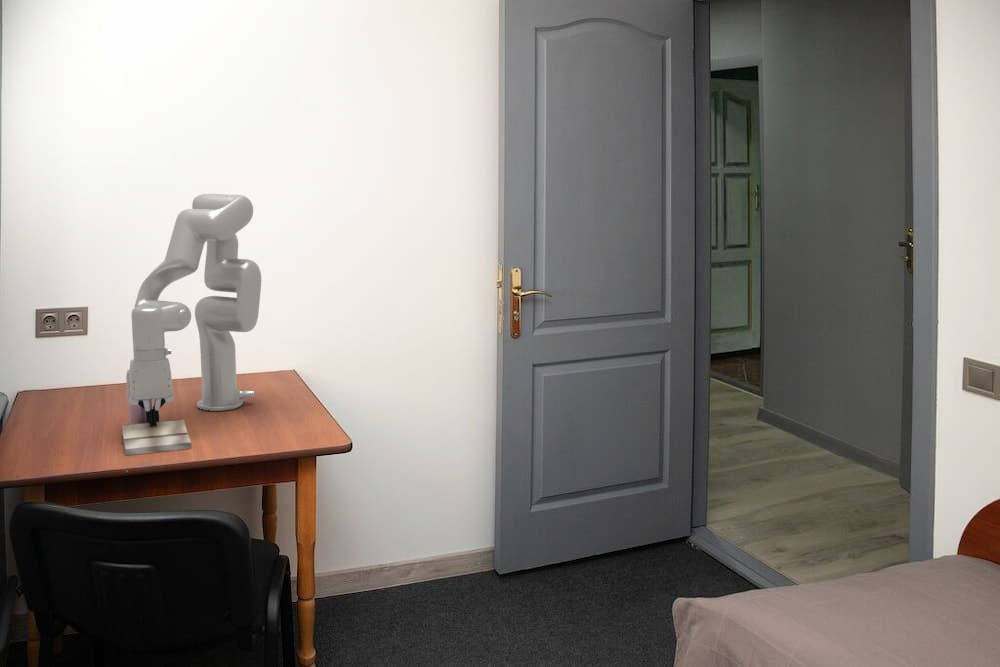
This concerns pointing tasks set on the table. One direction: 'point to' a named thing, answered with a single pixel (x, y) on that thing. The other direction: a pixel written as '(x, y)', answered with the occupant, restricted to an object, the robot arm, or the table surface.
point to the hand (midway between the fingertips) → (152, 424)
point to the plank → (153, 430)
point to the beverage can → (135, 408)
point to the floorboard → (157, 444)
